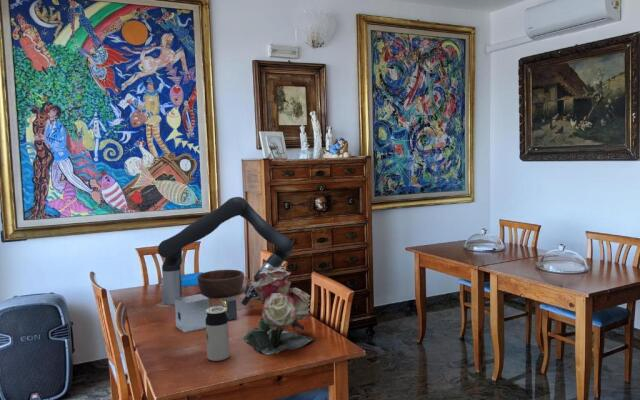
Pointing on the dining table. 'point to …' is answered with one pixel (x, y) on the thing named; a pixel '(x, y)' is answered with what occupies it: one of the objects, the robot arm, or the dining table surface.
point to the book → (189, 279)
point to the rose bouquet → (278, 313)
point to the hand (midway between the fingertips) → (243, 304)
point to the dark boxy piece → (229, 307)
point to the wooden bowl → (221, 283)
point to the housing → (191, 312)
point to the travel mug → (217, 334)
